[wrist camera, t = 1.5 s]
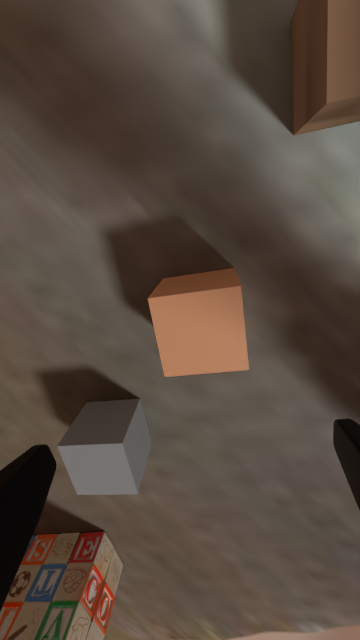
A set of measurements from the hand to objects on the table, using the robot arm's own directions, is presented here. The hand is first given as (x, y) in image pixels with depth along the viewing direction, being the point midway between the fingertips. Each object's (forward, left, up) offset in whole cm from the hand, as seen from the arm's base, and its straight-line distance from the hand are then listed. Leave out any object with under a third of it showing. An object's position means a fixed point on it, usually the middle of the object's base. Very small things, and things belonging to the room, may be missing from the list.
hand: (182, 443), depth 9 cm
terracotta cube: (0, 0, -13) cm, 13 cm away
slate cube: (+9, +10, -13) cm, 18 cm away
